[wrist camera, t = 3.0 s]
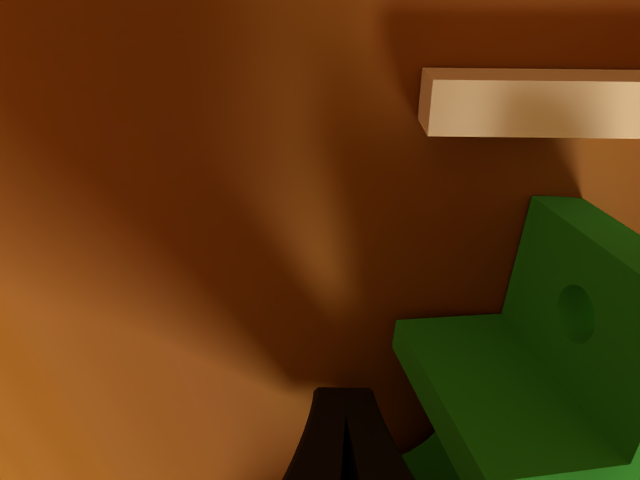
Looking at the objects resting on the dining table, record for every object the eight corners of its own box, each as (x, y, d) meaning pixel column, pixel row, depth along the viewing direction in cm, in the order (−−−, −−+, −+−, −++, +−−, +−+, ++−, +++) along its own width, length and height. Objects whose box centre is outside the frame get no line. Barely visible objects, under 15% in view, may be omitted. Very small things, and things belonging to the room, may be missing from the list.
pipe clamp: (412, 194, 12) (534, 322, 8) (574, 193, 12) (762, 308, 8) (357, 556, 16) (413, 751, 12) (475, 538, 17) (564, 715, 13)
